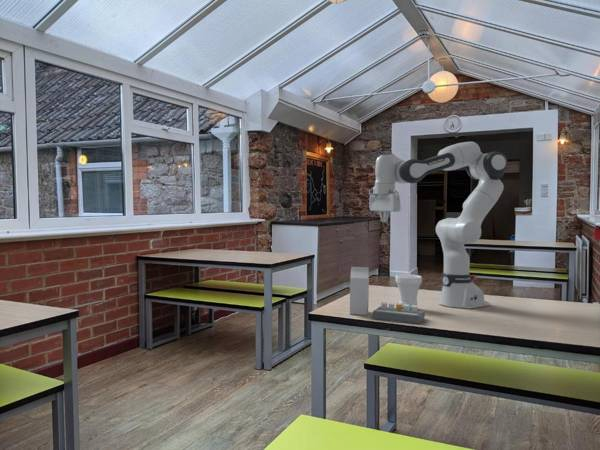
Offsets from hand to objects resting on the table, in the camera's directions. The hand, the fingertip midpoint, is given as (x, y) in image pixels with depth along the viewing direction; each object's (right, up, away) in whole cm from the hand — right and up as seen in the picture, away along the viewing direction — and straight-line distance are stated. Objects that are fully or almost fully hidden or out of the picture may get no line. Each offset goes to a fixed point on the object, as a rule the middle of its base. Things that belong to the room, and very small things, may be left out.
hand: (384, 221), depth 215 cm
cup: (+9, -38, -5) cm, 39 cm away
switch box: (+2, -38, -24) cm, 45 cm away
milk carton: (-13, -38, -14) cm, 42 cm away
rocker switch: (+2, -35, -23) cm, 42 cm away
